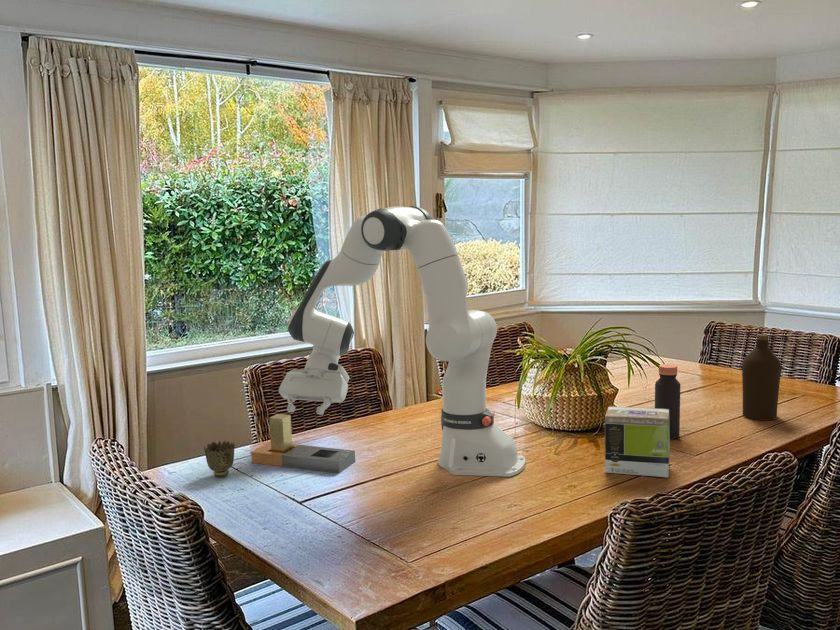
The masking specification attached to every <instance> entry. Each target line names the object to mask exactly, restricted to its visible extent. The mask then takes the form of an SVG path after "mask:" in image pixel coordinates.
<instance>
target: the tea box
mask: <svg viewBox="0 0 840 630" xmlns="http://www.w3.org/2000/svg"><path fill="white" fill-rule="evenodd" d="M670 440H671V439H670V438H669V409H657V408H655V407H654V408H653V407H636V406H635V407H633V406H631V407H630V406H612V405H611V406H608V407H607V410H606V413H605V415H604V467H605V468H604V469H605V473H608V474H620V475H631V476H632V475H633V476H646V477H648V476H649V477H658V478H669V474H670V473H669V472H670Z"/></svg>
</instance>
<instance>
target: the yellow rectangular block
mask: <svg viewBox="0 0 840 630" xmlns="http://www.w3.org/2000/svg"><path fill="white" fill-rule="evenodd" d="M291 419H292V417H291V414H285V413H284V414H283V413H276V414H274V415H272V416H270V417H269V419H268V420H269V432H270V433H269V435H270V436H269V437H270V442H271V452H278V453H286V452H288V451H290V450H291V449H292V444H293V436H292V422H291V421H292V420H291Z"/></svg>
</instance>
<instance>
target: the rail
mask: <svg viewBox="0 0 840 630" xmlns="http://www.w3.org/2000/svg"><path fill="white" fill-rule="evenodd" d="M250 453H251V454H250V455H251V463H252V464H256V465H257V464H259V465H267V466H268V465H269V466H274V467H285V468H291V469H301V470H307V471H308V470H309V471H319V472H324V473H325V472H327V473H335V474H341V473H342V472H343V471H344V470H346V469H347V468H349V467H350V466H352V465H353V464H354V463H355V462H356V451H355V450H352V449H342V448H334V447H326V446H325V447H324V446H317V445H316V446H315V445H304V444H295V443H292V449H291V450H290V451H288V452H286V453H278V452H271V441H269V442H267V443H265V444H263V445H262V446H259V447H258V448H256V449H254V450H252V451H251V452H250Z"/></svg>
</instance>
